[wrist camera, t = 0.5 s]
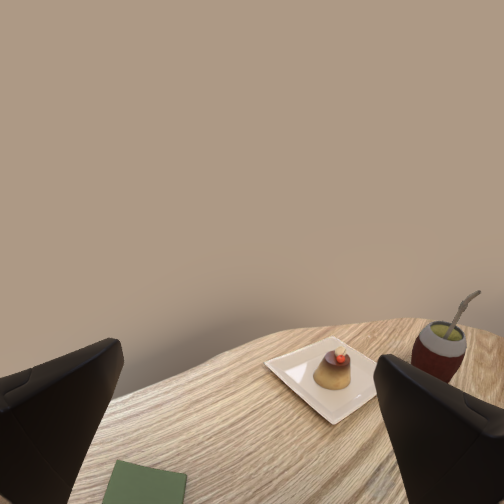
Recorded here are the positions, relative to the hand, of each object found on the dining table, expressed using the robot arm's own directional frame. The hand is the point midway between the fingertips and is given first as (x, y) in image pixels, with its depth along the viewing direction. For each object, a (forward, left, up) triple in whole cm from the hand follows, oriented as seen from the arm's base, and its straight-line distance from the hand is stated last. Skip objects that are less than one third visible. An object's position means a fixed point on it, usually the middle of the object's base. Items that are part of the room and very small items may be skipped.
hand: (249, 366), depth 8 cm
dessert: (+17, -11, -16) cm, 26 cm away
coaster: (0, +7, -16) cm, 17 cm away
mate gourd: (+13, -23, -16) cm, 31 cm away
